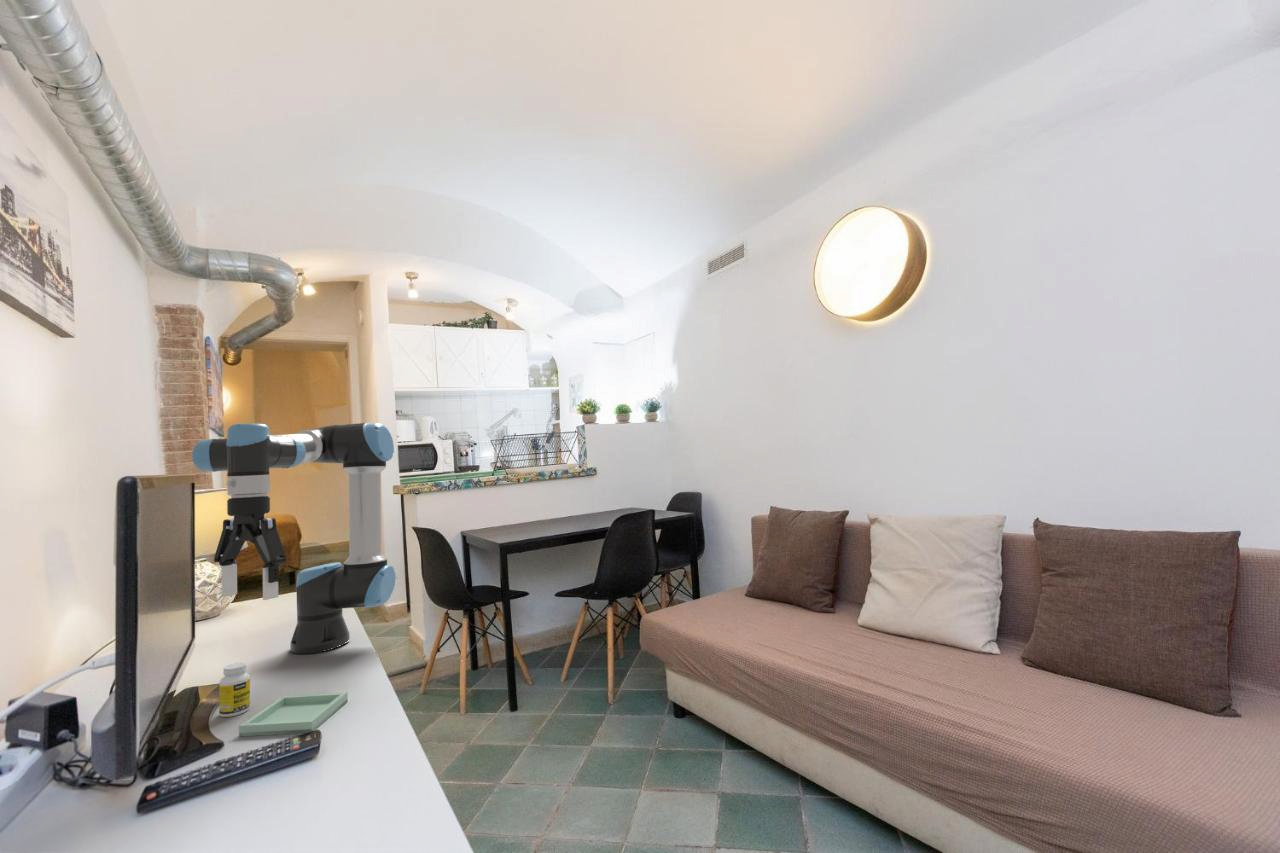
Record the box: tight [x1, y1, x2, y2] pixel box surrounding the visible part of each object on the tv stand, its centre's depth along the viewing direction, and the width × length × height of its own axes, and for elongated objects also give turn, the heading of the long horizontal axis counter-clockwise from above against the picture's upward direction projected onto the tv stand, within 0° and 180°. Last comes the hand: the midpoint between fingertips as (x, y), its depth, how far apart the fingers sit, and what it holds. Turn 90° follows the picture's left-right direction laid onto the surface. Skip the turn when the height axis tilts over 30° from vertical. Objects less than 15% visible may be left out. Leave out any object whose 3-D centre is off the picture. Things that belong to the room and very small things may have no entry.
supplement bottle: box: [218, 662, 251, 718], centre depth 123 cm, size 5×5×10 cm
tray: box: [238, 692, 349, 738], centre depth 118 cm, size 14×14×2 cm
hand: (249, 597), depth 121 cm, fingers open, 13 cm apart
